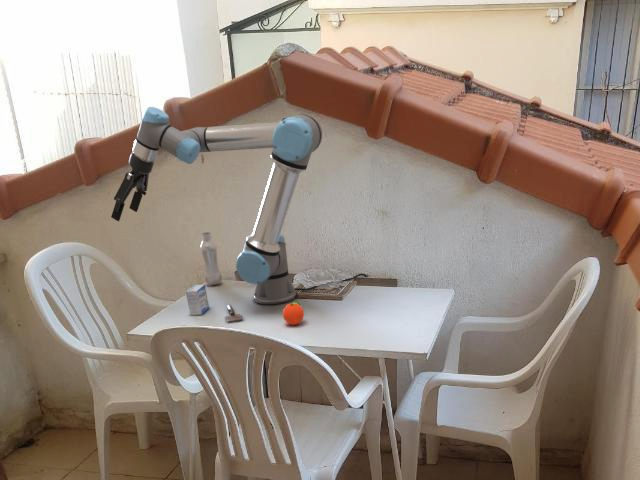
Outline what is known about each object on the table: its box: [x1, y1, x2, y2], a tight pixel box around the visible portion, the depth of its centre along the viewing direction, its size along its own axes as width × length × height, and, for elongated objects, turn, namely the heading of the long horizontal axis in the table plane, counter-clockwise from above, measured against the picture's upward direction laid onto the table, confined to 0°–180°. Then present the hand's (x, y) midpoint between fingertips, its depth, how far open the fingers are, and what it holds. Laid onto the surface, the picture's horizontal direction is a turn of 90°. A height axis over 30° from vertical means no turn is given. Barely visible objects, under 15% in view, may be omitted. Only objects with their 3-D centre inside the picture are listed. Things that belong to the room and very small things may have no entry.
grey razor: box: [225, 304, 243, 324], centre depth 241 cm, size 16×5×2 cm, turn 15°
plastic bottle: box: [199, 231, 222, 286], centre depth 272 cm, size 6×7×20 cm
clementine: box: [282, 302, 305, 326], centre depth 227 cm, size 8×7×7 cm
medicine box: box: [185, 284, 210, 316], centre depth 245 cm, size 8×4×9 cm, turn 168°
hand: (124, 214), depth 238 cm, fingers open, 13 cm apart
